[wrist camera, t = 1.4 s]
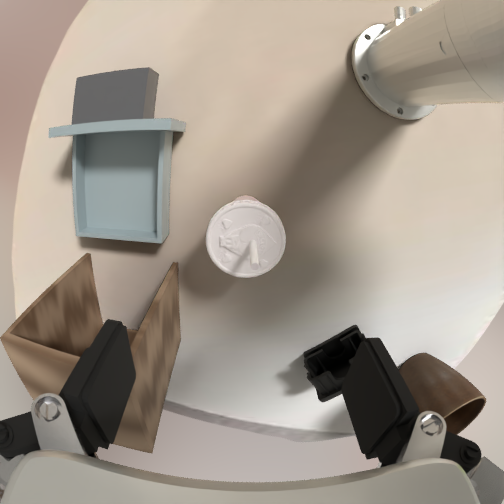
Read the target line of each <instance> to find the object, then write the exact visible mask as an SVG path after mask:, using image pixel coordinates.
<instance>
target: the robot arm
mask: <svg viewBox="0 0 504 504" xmlns="http://www.w3.org/2000/svg"><path fill="white" fill-rule="evenodd" d="M409 14H410V17H409V18H407V19H406V20H405V18H406V13H405V9H404V8H402V7H395V8H394V15H395V21H393V22H392V23H390V24H378V25H374V26H371V27H369V28H367V29H366V30H364V31H363V32H362V33H361V34H360V35H359V36H358V37H357V39H356V41H355V42H354V45H353V49H352V67H353V71H354V74H355V77H356V79H357V81H358V83H359V85H360V87H361V89H362V90H363V92H364V93H365V95H366V96H367V97H368V98H369V99H370V101H371V102H372V103H373V104H374V105H376V106H377V107H378V108H379V109H380V110H382V111H383V112H385V113H387V114H388V115H390V116H393V117H396V118H399V119H404V120H415V119H421V118H423V117H425V116H428V115H429V114H430V113H431V112H432V111H433V110H434V109H435V108H436V106H437V105H440V104H457V103H504V0H440V1H438V2H436V3H434V4H432V5H430V6H428V7H427V8H425V9H423V10H422V9H421V8H418V7H410V8H409ZM365 38H366V39H365ZM362 77H363V78H364V80H363V78H362ZM397 110H398V112H397ZM135 380H136V370H135V366H134V362H133V357H132V353H131V348H130V343H129V338H128V333H127V328H126V326H123V324H122V322H121V321H115V320H110V319H108V320H107V321H106V322H105V323H104V325H103V326H102V328H101V330H100V331H99V333H98V334H97V336H96V337H95V339H94V341H93V342H92V344H91V346H90V347H88V348H86V349H85V351H84V352H83V354H82V355H81V357H80V359H79V360H78V362H77V364H76V365H75V367H74V369H73V370H72V372H71V374H70V376H69V377H68V379H67V381H66V383H65V384H64V386H63V388H62V390H61V392H60V393H59V395H56V394H52V393H46V394H42V395H40V396H38V397H37V398H36V399H35V400H34V402H33V403H32V406H31V412H28V413H25V414H21V415H18V416H15V417H12V418H8V419H5V420H2V421H0V504H501V503H502V501H503V499H504V471H503V470H501V469H500V468H499V467H497V466H496V465H495V464H493V463H492V462H491V461H490V460H488V459H487V458H486V457H483V458H481V451H480V448H479V446H478V445H477V444H476V443H474V442H472V441H470V440H468V439H465V438H462V437H460V436H458V435H456V434H453V433H451V432H449V431H446V422H445V420H444V419H443V417H442V416H441V415H439V414H438V413H436V412H433V411H425V412H422V413H421V414H420V412H419V407H418V405H417V403H416V401H415V399H414V398H413V396H412V394H411V392H410V390H409V388H408V386H407V385H406V383H405V381H404V379H403V377H402V376H401V374H400V372H399V370H398V369H397V367H396V365H395V363H394V362H393V360H392V358H391V356H390V355H389V353H388V351H387V349H386V348H385V346H384V344H383V343H382V341H381V339H380V338H366V339H365V340H364V341H363V342H361V343H360V345H359V347H358V350H357V352H356V355H355V357H354V359H353V362H352V364H351V366H350V368H349V371H348V373H347V375H346V377H345V379H344V381H343V384H342V388H341V390H342V394H343V397H344V400H345V403H346V406H347V409H348V412H349V415H350V418H351V421H352V424H353V427H354V431H355V434H356V437H357V440H358V443H359V446H360V449H361V452H362V453H363V454H365V455H366V458H367V459H371V458H376V457H378V459H379V464H378V466H377V468H376V469H372V470H367V471H362V472H357V473H351V474H346V475H340V476H334V477H327V478H320V479H310V480H300V481H286V482H224V481H210V480H200V479H191V478H184V477H176V476H170V475H164V474H159V473H154V472H149V471H144V470H140V469H135V468H131V467H127V466H123V465H119V464H115V463H111V462H108V461H104V460H100V459H99V458H98V456H97V454H96V452H97V450H98V447H102V448H105V449H108V447H109V444H110V443H111V444H113V443H114V441H115V438H116V435H117V431H118V428H119V425H120V422H121V419H122V416H123V413H124V411H125V408H126V405H127V402H128V399H129V396H130V394H131V391H132V388H133V385H134V383H135Z"/></svg>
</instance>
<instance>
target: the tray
mask: <svg viewBox="0 0 504 504" xmlns="http://www.w3.org/2000/svg"><path fill="white" fill-rule="evenodd" d="M158 77H159V74H158V73H157V72H155V71H154V70H152V69H151V68H149V67H148V68H137V69H128V70H119V71H112V72H105V73H99V74H94V75H88V76H83V77H78V78H77V81H76V88H75V96H74V104H73V115H72V125H67V126H60V127H54V128H49V138H52V137H63V136H73V151H72V181H73V204H74V218H75V229H76V236H81V237H93V238H104V239H116V240H127V241H139V242H150V243H163V241H164V240H165V239H166V237H167V236H168V235H169V198H170V173H171V155H172V141H173V132H185V128H186V122H182V121H179V120H175V119H171V118H164V119H154V110H155V101H156V92H157V84H158Z"/></svg>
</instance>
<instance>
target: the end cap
mask: <svg viewBox="0 0 504 504" xmlns="http://www.w3.org/2000/svg"><path fill="white" fill-rule="evenodd" d="M365 339H366V338H365V336H364V334H362V333H361V332H360V330H359V328H358V326H357V325H353V326H351V327H350V328H348V329H346V330H344V331H343V332H341V333H339V334H337V335H335V336H334V337H332V338H330V339H328V340H326V341H325V342H323V343H321V344H319V345H317V346H315V347H313V348H311V349H309V350H307V351H306V352H304V358H305V359H304V363H305V365H304V367H305V368H306V369H307V370H308V371H309V373H307V378H308V380H309V381H310V382H311V383H312V384H313V385H314V387H315V388H316V391H317V395H318V399H319V400H320V401H321V402H326V401H328V400H330V399H332V398H334V397H336V396H339V395H341V394H342V390H341V388H342V384H343V381H344V379H345V377H346V375H347V373H348V371H349V368H350V366H351V364H352V362H353V359H354V357H355V355H356V352H357V350H358V347H359V345H360V343H361V342H363V341H364V340H365Z"/></svg>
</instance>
